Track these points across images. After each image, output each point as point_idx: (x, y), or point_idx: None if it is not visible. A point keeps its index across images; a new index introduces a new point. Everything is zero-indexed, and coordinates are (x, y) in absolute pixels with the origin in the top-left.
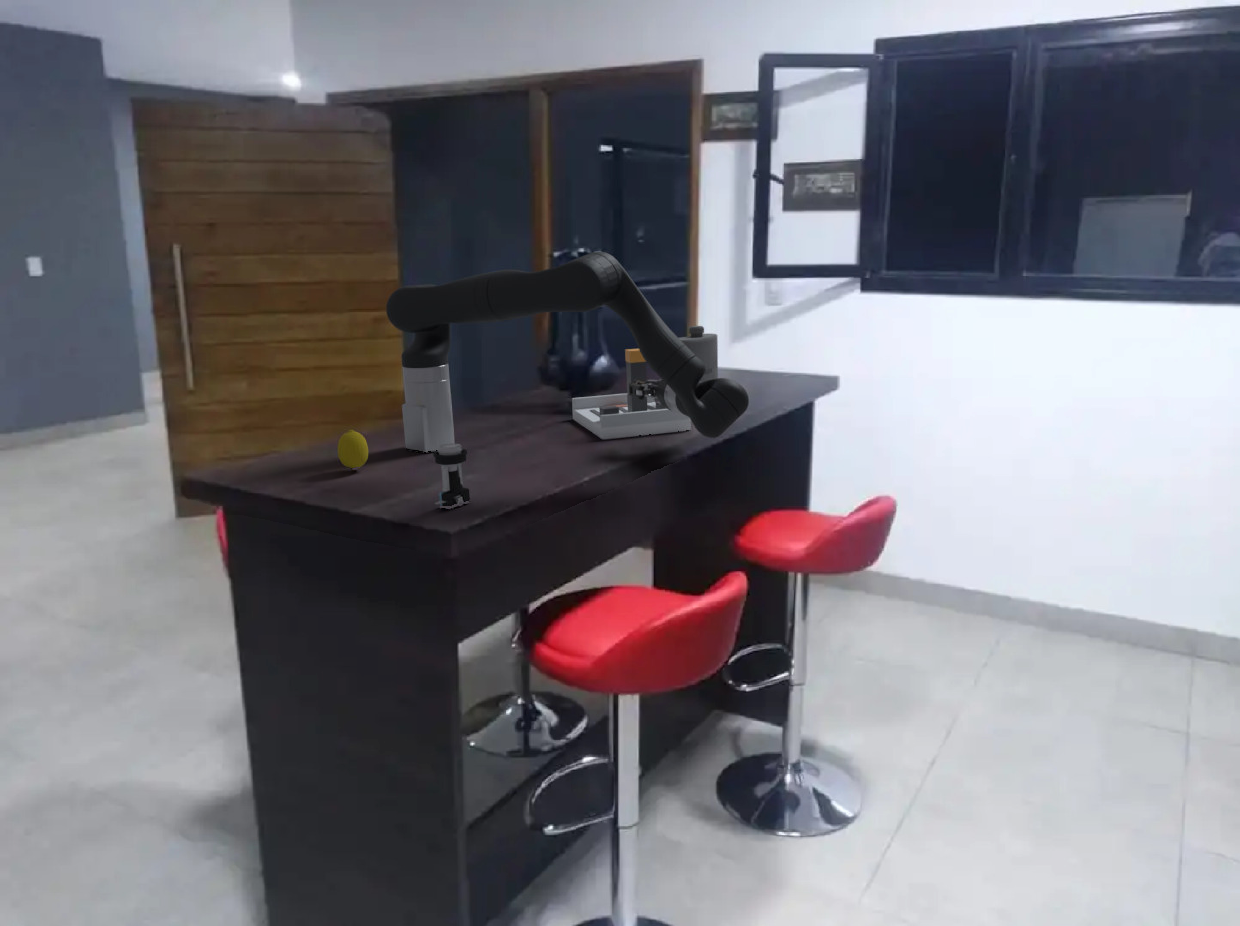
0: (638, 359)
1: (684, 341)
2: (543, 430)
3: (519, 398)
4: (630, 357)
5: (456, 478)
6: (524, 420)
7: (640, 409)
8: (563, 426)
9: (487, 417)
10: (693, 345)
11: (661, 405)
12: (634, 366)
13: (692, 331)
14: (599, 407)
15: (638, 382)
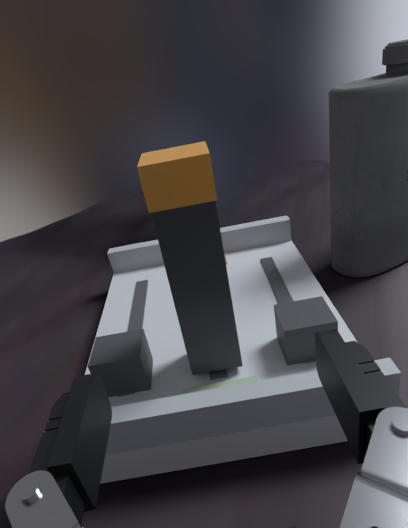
0: (180, 196)
1: (370, 90)
2: (17, 351)
3: (115, 200)
4: (145, 192)
5: None
6: (43, 284)
7: (215, 351)
8: (74, 328)
9: (11, 265)
10: (397, 100)
11: (288, 334)
12: (169, 224)
13: (394, 57)
14: (96, 338)
15: (12, 514)
